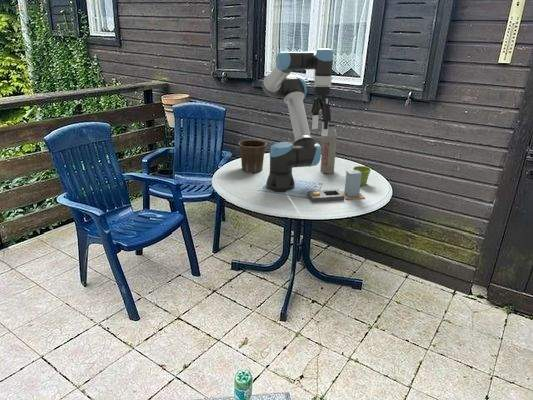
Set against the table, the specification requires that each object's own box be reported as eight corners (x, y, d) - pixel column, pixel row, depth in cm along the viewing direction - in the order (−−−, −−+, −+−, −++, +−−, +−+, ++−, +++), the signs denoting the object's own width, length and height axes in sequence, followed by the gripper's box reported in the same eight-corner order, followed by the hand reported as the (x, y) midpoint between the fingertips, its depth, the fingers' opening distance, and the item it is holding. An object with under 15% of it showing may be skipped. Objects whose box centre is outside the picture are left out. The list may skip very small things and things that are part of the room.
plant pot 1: (269, 166, 240) (269, 140, 234) (262, 175, 226) (262, 148, 219) (243, 164, 244) (243, 138, 237) (235, 172, 229) (234, 145, 223)
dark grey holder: (306, 196, 197) (307, 189, 196) (337, 194, 200) (337, 187, 199) (312, 203, 189) (312, 196, 188) (343, 201, 192) (344, 194, 191)
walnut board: (338, 193, 201) (338, 191, 201) (356, 192, 203) (357, 190, 203) (345, 201, 192) (346, 199, 192) (364, 200, 194) (365, 197, 194)
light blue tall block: (344, 193, 199) (346, 170, 194) (355, 192, 200) (357, 170, 195) (347, 196, 195) (349, 173, 190) (359, 195, 196) (361, 173, 191)
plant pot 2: (361, 188, 209) (362, 172, 205) (348, 183, 216) (349, 168, 212) (372, 184, 214) (374, 169, 210) (359, 179, 221) (361, 164, 217)
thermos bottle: (327, 174, 228) (330, 126, 217) (317, 170, 234) (320, 123, 223) (336, 171, 233) (340, 124, 222) (327, 168, 239) (330, 122, 227)
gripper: (341, 89, 166) (336, 138, 174) (321, 81, 188) (318, 125, 197) (324, 89, 164) (320, 139, 173) (306, 82, 187) (303, 126, 195)
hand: (319, 132), depth 185 cm, fingers open, 13 cm apart
